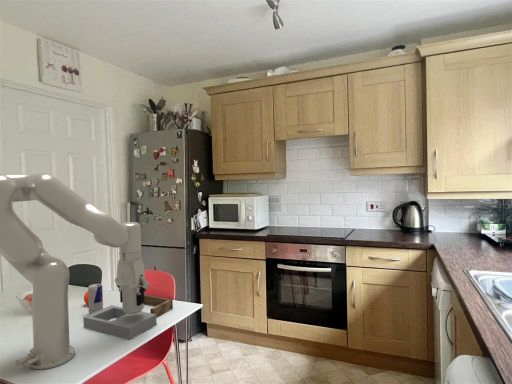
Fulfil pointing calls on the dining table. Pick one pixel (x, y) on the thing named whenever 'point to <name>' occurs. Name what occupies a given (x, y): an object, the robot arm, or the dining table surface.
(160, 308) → the cubby
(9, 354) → the dining table surface
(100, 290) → the energy drink
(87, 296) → the clementine
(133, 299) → the can
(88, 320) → the hole board
